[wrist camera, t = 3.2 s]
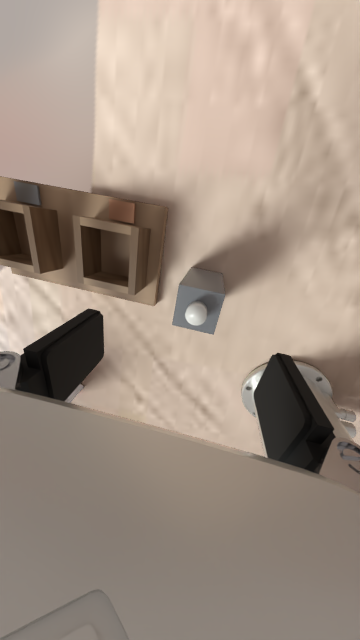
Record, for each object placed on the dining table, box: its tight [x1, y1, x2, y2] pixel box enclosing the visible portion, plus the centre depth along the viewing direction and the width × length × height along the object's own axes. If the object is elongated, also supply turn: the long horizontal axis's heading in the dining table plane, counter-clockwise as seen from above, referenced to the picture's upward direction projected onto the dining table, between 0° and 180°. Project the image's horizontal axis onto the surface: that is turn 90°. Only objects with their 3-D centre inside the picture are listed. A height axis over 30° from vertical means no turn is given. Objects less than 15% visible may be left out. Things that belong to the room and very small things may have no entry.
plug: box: [172, 267, 225, 335], centre depth 20 cm, size 4×4×10 cm
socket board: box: [0, 176, 168, 306], centre depth 23 cm, size 22×12×5 cm, turn 80°
